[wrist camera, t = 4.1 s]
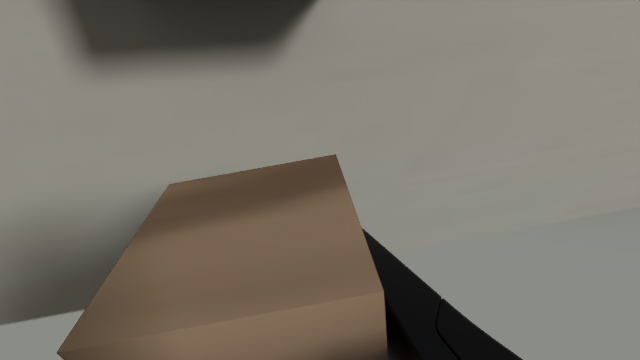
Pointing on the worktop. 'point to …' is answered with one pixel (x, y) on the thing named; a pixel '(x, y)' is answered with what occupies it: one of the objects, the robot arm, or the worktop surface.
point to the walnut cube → (242, 275)
